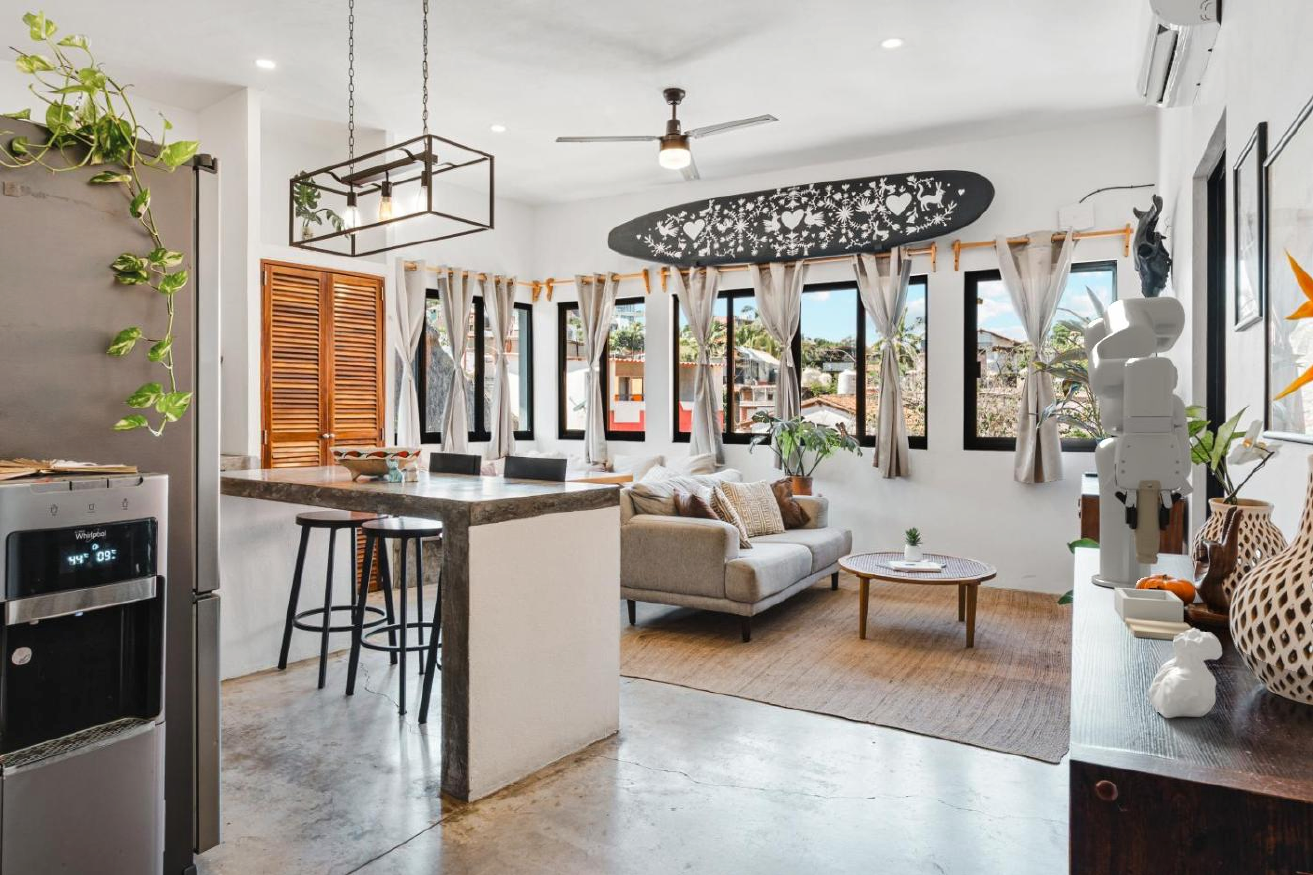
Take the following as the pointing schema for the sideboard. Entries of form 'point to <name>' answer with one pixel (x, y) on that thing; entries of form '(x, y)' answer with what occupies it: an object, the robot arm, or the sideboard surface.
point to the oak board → (1156, 628)
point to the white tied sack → (1187, 676)
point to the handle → (1147, 522)
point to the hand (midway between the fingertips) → (1147, 527)
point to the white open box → (1148, 604)
